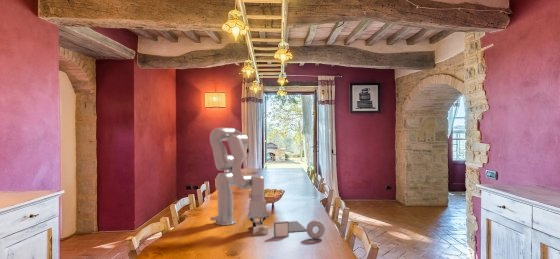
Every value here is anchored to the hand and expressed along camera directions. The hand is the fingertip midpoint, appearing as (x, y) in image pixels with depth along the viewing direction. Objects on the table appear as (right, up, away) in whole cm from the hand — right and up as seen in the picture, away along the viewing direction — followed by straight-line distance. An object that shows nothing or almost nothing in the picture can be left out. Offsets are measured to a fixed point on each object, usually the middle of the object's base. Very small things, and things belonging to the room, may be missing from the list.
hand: (257, 228), depth 196 cm
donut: (+32, -1, -17) cm, 36 cm away
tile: (+14, 0, -13) cm, 19 cm away
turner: (0, 0, -1) cm, 1 cm away
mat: (+21, -1, +5) cm, 21 cm away
